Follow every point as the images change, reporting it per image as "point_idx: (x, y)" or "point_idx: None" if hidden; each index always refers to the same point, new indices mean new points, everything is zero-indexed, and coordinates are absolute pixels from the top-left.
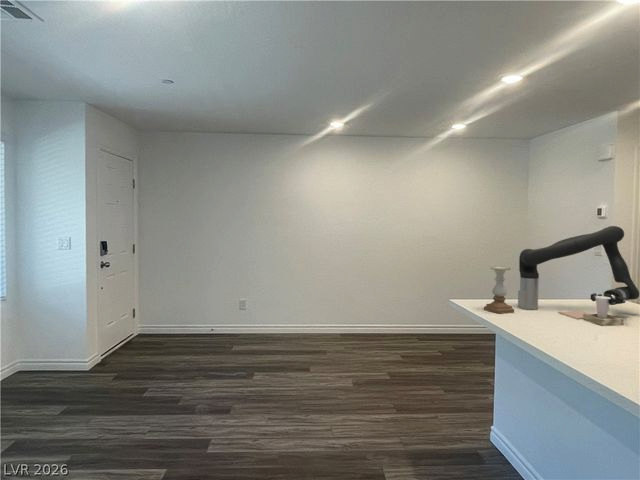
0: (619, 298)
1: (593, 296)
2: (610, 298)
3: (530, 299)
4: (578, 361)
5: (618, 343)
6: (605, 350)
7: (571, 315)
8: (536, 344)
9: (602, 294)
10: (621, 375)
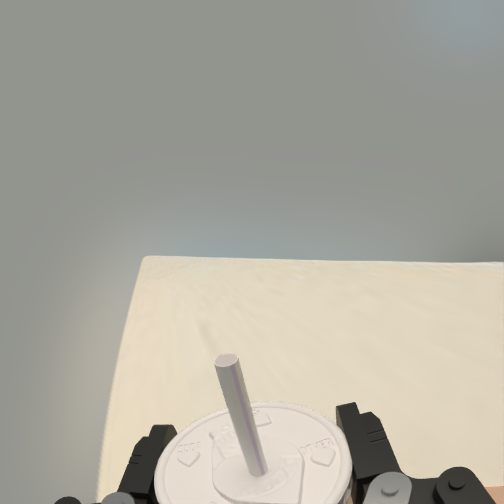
0: (62, 502)
1: (355, 416)
2: (157, 465)
3: None
4: (196, 264)
5: (152, 337)
6: (172, 299)
7: (499, 497)
8: (271, 261)
9: (252, 439)
10: (150, 268)
